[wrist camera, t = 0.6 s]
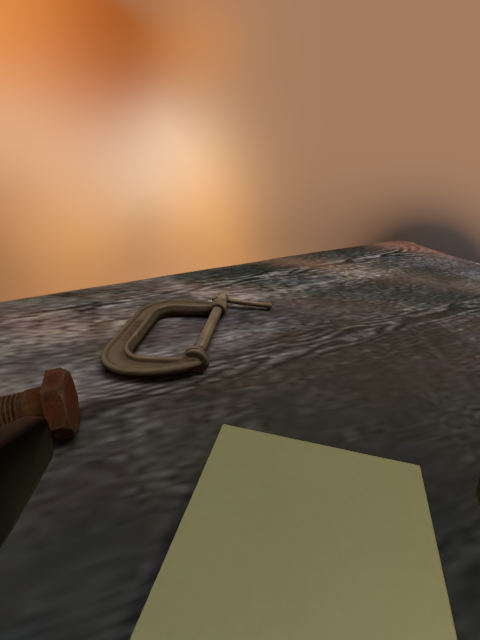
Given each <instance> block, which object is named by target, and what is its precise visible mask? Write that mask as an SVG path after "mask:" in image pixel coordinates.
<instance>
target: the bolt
mask: <svg viewBox="0 0 480 640" xmlns="http://www.w3.org/2000/svg"><path fill="white" fill-rule="evenodd" d="M25 416H37V417H44V418H46V419H47V421H48V423H49V427H50V432H51V435H53V436H54V437H55V438H56V439H58V440H59V441H60V440H64V439H67V438H71V437H74V435H75V434H76V432H77V430H78V428H79V425H80V416H79V403H78V395H77V392H76V388H75V385H74V382H73V379H72V377H71V374H70V373H69V372H68V371H66V370H65V369H62V368H56V369H50V370H45V374H44V378H43V382H42V386H41V387H37V388H33V389H28V390H25V391H24V392H21V393H17V394H12V395H8V396H2V397H0V426H3V425H5V424H8V423H10V422H12V421H15V420H17V419H19V418H22V417H25Z"/></svg>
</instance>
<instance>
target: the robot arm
mask: <svg viewBox="0 0 480 640" xmlns="http://www.w3.org/2000/svg"><path fill="white" fill-rule="evenodd" d="M53 451H54V447H53V442H52V437H51V432H50V427H49V423H48V421H47V419H46V418H44V417H37V416H25V417H22V418H19V419H17V420H15V421H12V422H10V423H8V424H5V425H3V426H0V547H1V546H2V544H3V543H4V541H5V540H6V538H7V537H8V535H9V534H10V532H11V531H12V529H13V527H14V525H15V524H16V522H17V520H18V519H19V517H20V515H21V513H22V512H23V510H24V508H25V506H26V504H27V503H28V501H29V499H30V497H31V495H32V494H33V492H34V490H35V488H36V486H37V485H38V483H39V481H40V479H41V477H42V476H43V474H44V472H45V470H46V468H47V466H48V465H49V463H50V461H51V459H52V456H53ZM476 499H477V503H478V506H479V508H480V479H479V482H478V485H477V488H476Z"/></svg>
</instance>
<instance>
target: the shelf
mask: <svg viewBox="0 0 480 640" xmlns="http://www.w3.org/2000/svg"><path fill="white" fill-rule="evenodd" d="M130 640H457V636H456V631H455V627H454V622H453V617H452V613H451V608H450V603H449V599H448V594H447V590H446V585H445V580H444V576H443V571H442V567H441V562H440V557H439V553H438V548H437V543H436V539H435V534H434V530H433V525H432V520H431V516H430V511H429V506H428V502H427V497H426V493H425V488H424V483H423V479H422V474H421V470H420V466H418V465H414V464H409V463H404V462H399V461H395V460H390V459H385V458H381V457H376V456H371V455H366V454H362V453H357V452H352V451H348V450H343V449H338V448H333V447H329V446H324V445H319V444H315V443H310V442H305V441H300V440H296V439H291V438H286V437H282V436H277V435H272V434H267V433H263V432H258V431H253V430H249V429H244V428H239V427H234V426H230V425H225V424H223V426H222V428H221V430H220V433H219V435H218V437H217V439H216V442H215V444H214V446H213V449H212V451H211V453H210V456H209V458H208V460H207V463H206V465H205V467H204V469H203V472H202V474H201V476H200V479H199V481H198V483H197V486H196V488H195V490H194V492H193V495H192V497H191V499H190V502H189V504H188V506H187V509H186V511H185V513H184V515H183V518H182V520H181V522H180V525H179V527H178V529H177V532H176V534H175V536H174V539H173V541H172V543H171V545H170V548H169V550H168V552H167V555H166V557H165V559H164V562H163V564H162V566H161V568H160V571H159V573H158V575H157V578H156V580H155V582H154V585H153V587H152V589H151V592H150V594H149V596H148V598H147V601H146V603H145V605H144V608H143V610H142V612H141V615H140V617H139V619H138V621H137V624H136V626H135V628H134V631H133V633H132V635H131V638H130Z"/></svg>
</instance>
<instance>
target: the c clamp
mask: <svg viewBox="0 0 480 640" xmlns="http://www.w3.org/2000/svg"><path fill="white" fill-rule="evenodd" d="M212 301H213V302H208V301H200V300H183V299H171V300H162V301H157V302H154V303H151V304H148V305H146V306H144V307H142V308H141V309H139V310H138V311H137V312H136V313H135V314H134V316H133V317H132V318H131V319H130V320H129V321H128V322H127V323H126V324H125V325H124V327H123V328H122V329H121V330H120V331H119V332H118V333H117V334H116V335H115V337H114V338H113V339H112V340H111V341H110V342H109V343H108V344H107V345H106V346H105V348H104V349H103V351H102V354H101V362H102V364H103V365H104V367H105V368H106V369H108V370H109V371H111V372H113V373H116V374H120V375H130V376H154V375H164V374H170V373H176V372H181V371H185V370H190V371H192V372H202V371H204V370H206V369H207V367H208V365H209V359H208V356H207V354H206V350H207V348H208V345H209V343H210V341H211V338H212V335H213V333H214V331H215V328H216V326H217V323H218V321H219V318H220V317H221V316H223V315H224V314H225V312H226V310H227V307H228V304H227V303H233V304H240V305H248V306H256V307H264V308H268V309H271V308H272V303H261V302H253V301H245V300H237V299H229V298H228V296H227V295H226V294H225V293H220V294H219V295H218V297H217V296H213V297H212ZM205 314H210V315H209V318H208V320H207V322H206V324H205V326H204V328H203V330H202V332H201V334H200V337H199V339H198V341H197V343H196V345H195V346H193V347H190V348H188V349H187V350H186V351H185V353H184V355H183V356H181V357H148V356H138V355H135V354H133V352H134V351H135V349H136V348H137V346H138V345H139V344H140V343H141V341H142V340H143V339H144V337H145V336H146V335H147V333H148V332H149V330H150V329H151V328H152V326H153V325H154V324H155V322H156V321H158V320H159V319H161V318H164V317H166V316H171V315H205Z"/></svg>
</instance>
